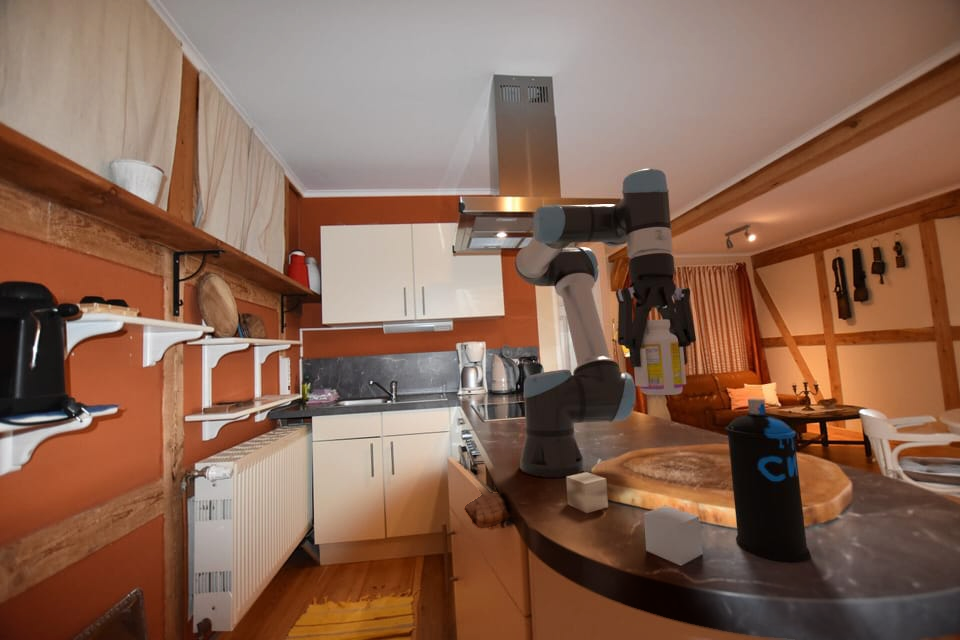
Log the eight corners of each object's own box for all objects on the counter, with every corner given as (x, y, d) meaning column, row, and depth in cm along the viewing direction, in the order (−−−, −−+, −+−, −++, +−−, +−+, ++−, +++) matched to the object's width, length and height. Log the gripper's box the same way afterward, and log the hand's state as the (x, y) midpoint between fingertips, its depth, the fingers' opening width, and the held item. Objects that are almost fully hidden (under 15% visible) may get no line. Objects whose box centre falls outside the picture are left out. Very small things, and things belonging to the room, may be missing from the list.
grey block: (646, 551, 55) (643, 513, 55) (668, 541, 58) (665, 505, 58) (680, 566, 51) (677, 525, 51) (702, 554, 53) (699, 516, 54)
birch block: (567, 504, 73) (566, 476, 74) (588, 499, 75) (586, 472, 76) (586, 513, 69) (584, 483, 69) (608, 507, 71) (606, 478, 71)
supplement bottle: (674, 391, 73) (668, 321, 74) (689, 394, 66) (682, 318, 67) (636, 392, 73) (631, 323, 74) (647, 396, 67) (641, 320, 68)
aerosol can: (722, 540, 57) (709, 399, 59) (761, 529, 60) (747, 395, 62) (783, 568, 49) (765, 404, 51) (825, 554, 52) (807, 399, 54)
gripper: (612, 250, 66) (622, 389, 64) (712, 251, 70) (725, 383, 68) (590, 261, 73) (599, 386, 71) (682, 262, 78) (693, 380, 75)
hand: (660, 384), depth 70 cm, fingers closed on supplement bottle, 7 cm apart
